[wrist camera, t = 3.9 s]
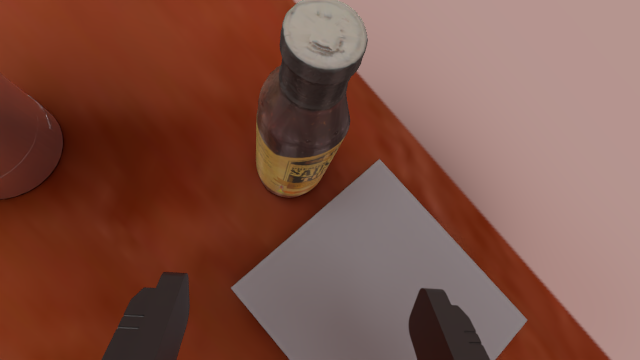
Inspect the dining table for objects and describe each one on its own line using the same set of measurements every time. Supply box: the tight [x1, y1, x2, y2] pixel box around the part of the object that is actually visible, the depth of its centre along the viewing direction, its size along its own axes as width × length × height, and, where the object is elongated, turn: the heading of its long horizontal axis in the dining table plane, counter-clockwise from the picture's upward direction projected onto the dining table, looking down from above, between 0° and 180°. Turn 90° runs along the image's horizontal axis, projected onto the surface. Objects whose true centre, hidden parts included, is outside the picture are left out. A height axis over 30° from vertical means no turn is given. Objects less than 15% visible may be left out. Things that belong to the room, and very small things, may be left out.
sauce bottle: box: [256, 0, 368, 198], centre depth 26 cm, size 7×6×20 cm
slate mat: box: [231, 159, 527, 360], centre depth 33 cm, size 18×20×1 cm
